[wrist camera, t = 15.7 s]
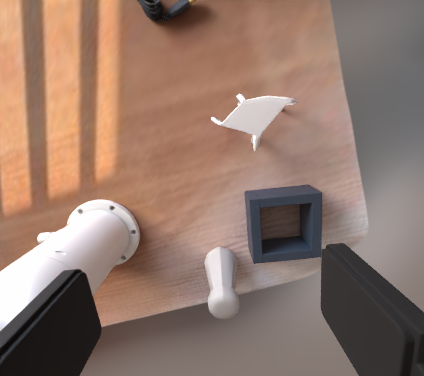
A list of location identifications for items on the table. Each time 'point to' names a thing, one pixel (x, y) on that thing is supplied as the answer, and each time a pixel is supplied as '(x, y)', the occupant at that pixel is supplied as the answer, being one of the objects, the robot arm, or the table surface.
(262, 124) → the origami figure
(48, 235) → the robot arm
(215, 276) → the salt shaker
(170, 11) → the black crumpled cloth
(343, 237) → the table surface
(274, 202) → the holder
